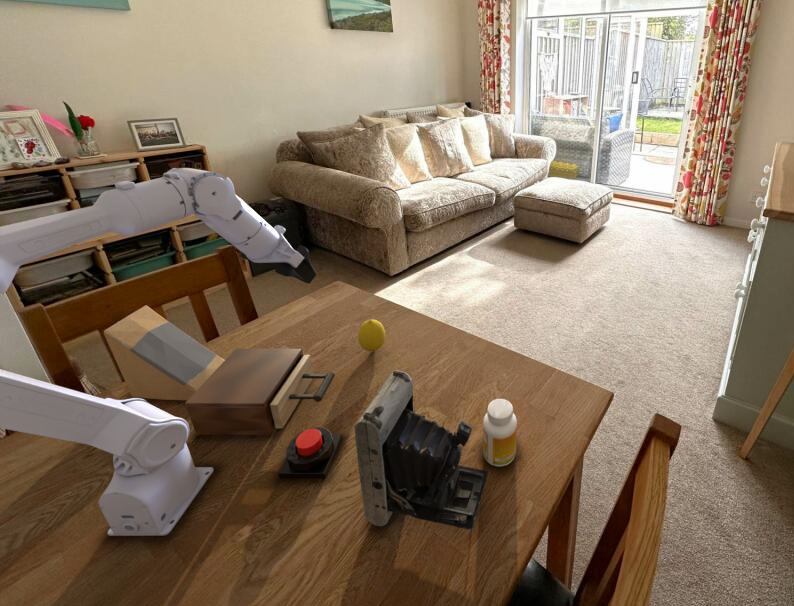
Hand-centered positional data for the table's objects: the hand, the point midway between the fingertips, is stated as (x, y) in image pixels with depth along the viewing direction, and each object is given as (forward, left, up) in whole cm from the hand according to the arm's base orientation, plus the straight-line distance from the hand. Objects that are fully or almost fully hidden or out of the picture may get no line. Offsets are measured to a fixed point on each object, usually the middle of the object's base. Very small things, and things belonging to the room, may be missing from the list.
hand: (297, 272), depth 73 cm
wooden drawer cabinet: (-8, +8, -23) cm, 26 cm away
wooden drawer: (-8, +2, -22) cm, 24 cm away
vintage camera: (-26, -27, -23) cm, 44 cm away
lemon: (+7, -9, -23) cm, 26 cm away
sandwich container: (-3, +24, -23) cm, 33 cm away
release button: (-19, -7, -21) cm, 29 cm away
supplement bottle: (-18, -37, -23) cm, 48 cm away
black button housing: (-19, -7, -23) cm, 31 cm away
